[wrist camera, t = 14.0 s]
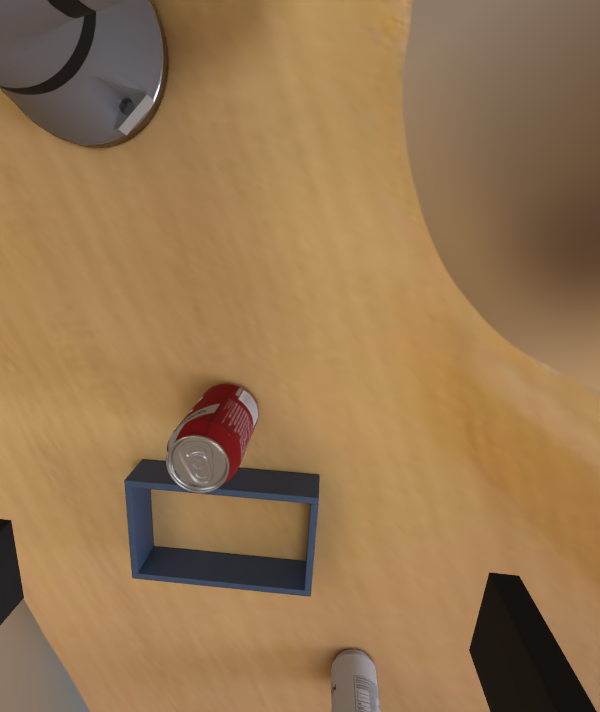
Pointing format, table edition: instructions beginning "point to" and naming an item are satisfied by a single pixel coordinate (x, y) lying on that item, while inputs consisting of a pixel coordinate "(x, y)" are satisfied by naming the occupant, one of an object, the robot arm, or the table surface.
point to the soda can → (212, 438)
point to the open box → (214, 565)
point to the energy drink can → (354, 683)
